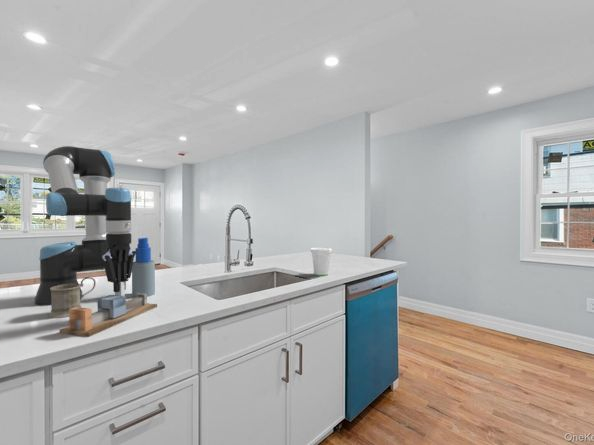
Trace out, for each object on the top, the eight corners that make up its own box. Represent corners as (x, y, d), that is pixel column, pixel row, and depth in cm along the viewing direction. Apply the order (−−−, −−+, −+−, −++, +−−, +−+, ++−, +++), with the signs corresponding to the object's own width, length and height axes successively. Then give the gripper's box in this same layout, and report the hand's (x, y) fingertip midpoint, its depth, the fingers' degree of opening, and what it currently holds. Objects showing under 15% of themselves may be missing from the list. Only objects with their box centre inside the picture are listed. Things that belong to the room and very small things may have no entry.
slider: (97, 316, 97) (97, 298, 97) (110, 311, 102) (110, 294, 102) (113, 318, 95) (113, 300, 95) (125, 313, 100) (125, 296, 100)
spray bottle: (145, 290, 135) (145, 236, 134) (159, 293, 131) (158, 237, 130) (127, 295, 126) (126, 238, 126) (141, 298, 123) (140, 239, 122)
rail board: (59, 332, 87) (59, 309, 87) (133, 304, 114) (132, 286, 114) (89, 336, 85) (88, 312, 84) (157, 306, 112) (156, 288, 112)
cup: (332, 276, 166) (332, 250, 166) (310, 276, 166) (310, 249, 166) (330, 272, 179) (330, 247, 178) (310, 272, 179) (310, 247, 178)
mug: (55, 320, 98) (54, 284, 97) (43, 314, 103) (42, 280, 102) (102, 308, 110) (101, 276, 109) (89, 304, 115) (89, 273, 115)
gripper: (111, 234, 94) (113, 307, 94) (142, 231, 106) (142, 296, 107) (92, 233, 95) (94, 305, 96) (124, 231, 108) (125, 294, 109)
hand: (119, 300), depth 102 cm, fingers closed
